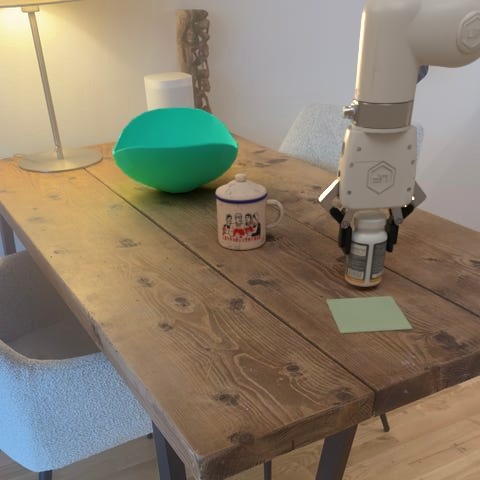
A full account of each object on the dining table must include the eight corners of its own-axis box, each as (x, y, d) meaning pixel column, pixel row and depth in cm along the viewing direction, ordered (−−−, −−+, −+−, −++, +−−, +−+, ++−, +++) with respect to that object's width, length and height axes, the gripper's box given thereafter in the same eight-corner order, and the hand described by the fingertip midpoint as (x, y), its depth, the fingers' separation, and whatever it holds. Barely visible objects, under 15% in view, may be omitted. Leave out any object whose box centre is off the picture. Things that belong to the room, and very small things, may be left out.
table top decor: (248, 213, 115) (248, 142, 107) (112, 221, 113) (100, 149, 105) (231, 162, 146) (229, 104, 138) (123, 168, 144) (115, 109, 136)
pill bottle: (373, 271, 90) (382, 207, 84) (387, 286, 86) (396, 220, 79) (339, 274, 89) (345, 210, 83) (350, 289, 85) (358, 223, 79)
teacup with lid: (217, 252, 100) (213, 183, 92) (217, 233, 107) (214, 168, 99) (284, 250, 100) (287, 181, 92) (280, 231, 107) (281, 166, 99)
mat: (391, 296, 85) (391, 295, 85) (412, 329, 77) (412, 328, 77) (325, 300, 84) (325, 299, 84) (340, 333, 76) (340, 332, 76)
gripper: (322, 124, 70) (313, 263, 81) (457, 117, 71) (430, 257, 82) (311, 112, 76) (305, 244, 87) (437, 106, 76) (414, 238, 88)
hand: (366, 249), depth 84 cm, fingers closed on pill bottle, 5 cm apart
